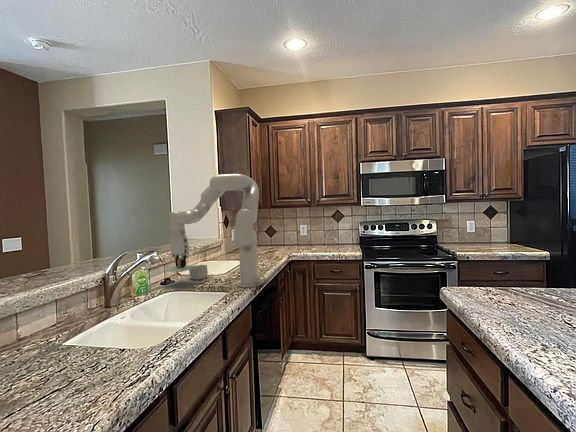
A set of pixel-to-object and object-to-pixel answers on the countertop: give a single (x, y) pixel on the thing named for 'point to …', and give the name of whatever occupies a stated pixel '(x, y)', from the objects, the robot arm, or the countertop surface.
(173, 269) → the lid
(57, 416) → the countertop surface
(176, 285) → the mat
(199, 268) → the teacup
